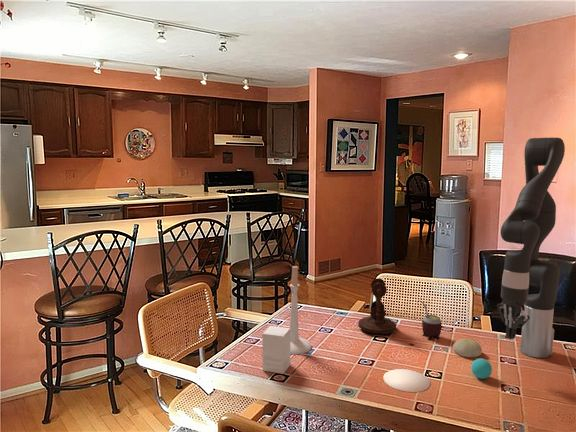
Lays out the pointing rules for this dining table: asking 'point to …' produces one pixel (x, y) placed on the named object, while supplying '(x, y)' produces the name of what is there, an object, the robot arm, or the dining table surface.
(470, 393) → the dining table surface
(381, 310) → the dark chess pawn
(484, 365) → the ball
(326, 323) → the dining table surface
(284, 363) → the supplement box
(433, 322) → the mate gourd
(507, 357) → the dining table surface
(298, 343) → the candlestick
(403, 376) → the white disc
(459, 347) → the sea urchin shell
